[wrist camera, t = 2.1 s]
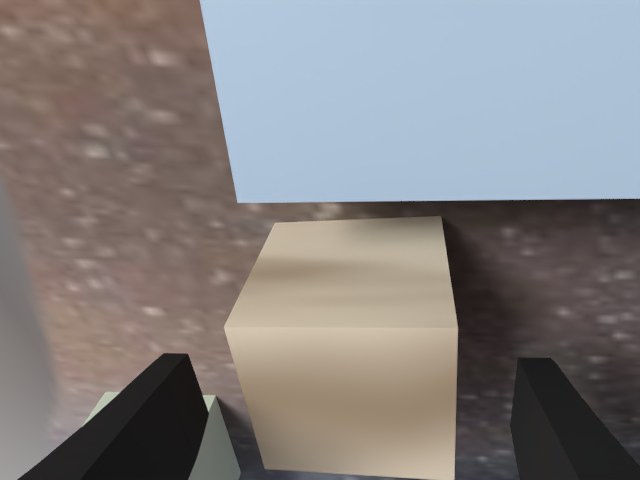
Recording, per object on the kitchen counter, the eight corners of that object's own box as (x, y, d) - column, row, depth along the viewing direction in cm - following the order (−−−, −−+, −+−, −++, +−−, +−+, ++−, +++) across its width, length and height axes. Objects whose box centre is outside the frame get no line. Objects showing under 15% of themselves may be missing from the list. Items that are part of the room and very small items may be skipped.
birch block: (440, 344, 15) (454, 481, 11) (299, 342, 15) (264, 468, 12) (440, 214, 12) (458, 327, 9) (275, 221, 13) (223, 327, 9)
